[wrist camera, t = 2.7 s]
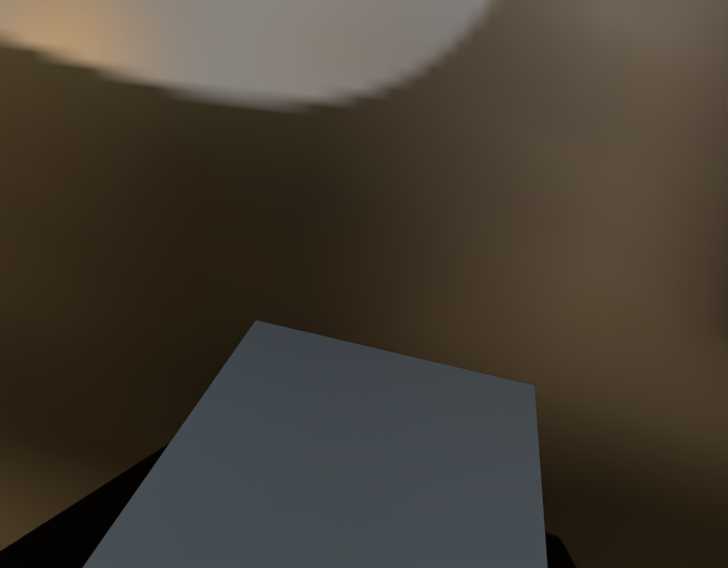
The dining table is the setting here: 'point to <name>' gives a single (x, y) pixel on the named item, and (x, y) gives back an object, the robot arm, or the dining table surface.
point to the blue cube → (340, 466)
